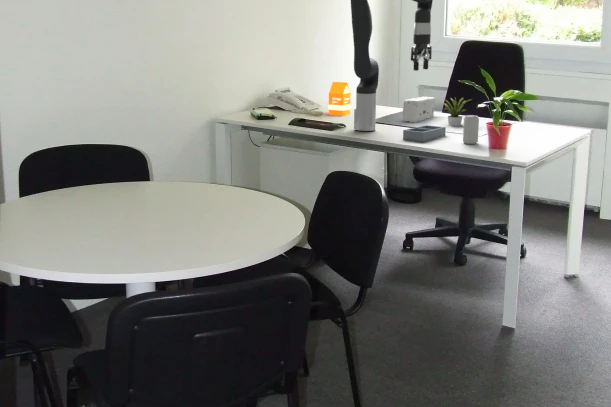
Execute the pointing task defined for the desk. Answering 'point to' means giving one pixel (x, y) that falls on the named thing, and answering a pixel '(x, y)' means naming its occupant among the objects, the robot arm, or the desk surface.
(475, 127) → the beverage can
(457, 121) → the house plant
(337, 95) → the orange juice
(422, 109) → the stereo radio cassette player
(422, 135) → the grey compartment tray
